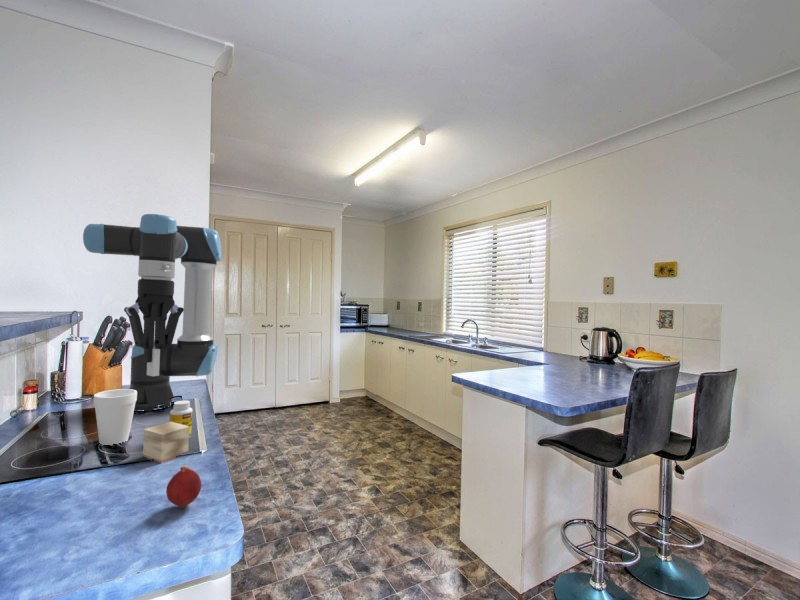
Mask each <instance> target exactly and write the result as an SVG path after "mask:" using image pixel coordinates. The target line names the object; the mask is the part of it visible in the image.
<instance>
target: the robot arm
mask: <svg viewBox="0 0 800 600" xmlns="http://www.w3.org/2000/svg"><path fill="white" fill-rule="evenodd" d="M82 239H83V240H82V242H83V245H84V247H85V249H86V250H87V251H88V252H89V253H92V254H100V255H115V256H116V255H121V256H134V257H138V258H139V259H138V268H137V269H138V271H137V272H138V273H137V275H138V277H140V278H139V279H138V280H137V298H136V300H135V303H133V304H132V305H130V306H125V307H124V309H123V311H124V312H125V314H126V316H127V317H128V320H129V325H130V327H131V329H130V330H131V333H132V338H133V340H134V341H133V342H134V345H133V346H132V349H131V356H130V360H131V361H130V384H129V385H130V386H129V388H128V389H132V390H136V391H137V401H136V403H135V408H134V410H140V409H141V410H144V411H148V412H153V411H152V410H153V408H154V406H158V405H160V404H161V403H163V404H164V407H165V409H167V408H166V407H168V406H170V402H171V399H172V398H173V397H174V398H175V396H174V394H173V389H172V386H171V384H170V379H171V378H170V377H200V376H201V377H202V376H209V375H211V374H212V372H213V370H214V368H215V364H216V361H217V354H218V344H217V343H214V338H213V337H212V336H211V335H210V317H211V316H210V315H211V295H212V274H213V273H212V271H213V269H214V268H216V267H217V262H221V261H222V253H223V251H222V243H221V238H220V235H219V231H217V230H216V229H214V228H207V227H199V226H185V225H178V224H177V219H176V218H174V217H172V216H169V215H164V214H156V213H146V214H143V215H141V217H140V223H139V227H138V226H136V227H135V226H127V225H124V226H123V225H115V224H104V223H89V224H87V225H86V226H85V228H84V230H83V234H82ZM177 259H180V264H181V266H183V267H184V293H183V307H182V306H181V307H180V306H178V305H177V304H175V302H176V301H175V300H174V294H175V282H174V280H173V279H174V278H175V275H176V274H175V273H176V260H177ZM140 312H141V313H142V315H143V316H142V320H143V325H142V321H141V316H140V314H139V313H140ZM169 313H170V314H169ZM182 313H183V314H182ZM168 314H169V315H168ZM181 315H183V316H182V333H181V335H180V336H179V337H178V338H177V340H176V342H177V343H173V341H174V337H175V333H176V330H177V326H178V323H179V319H180V316H181ZM166 321H167V322H166ZM168 408H169V407H168Z"/></svg>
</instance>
